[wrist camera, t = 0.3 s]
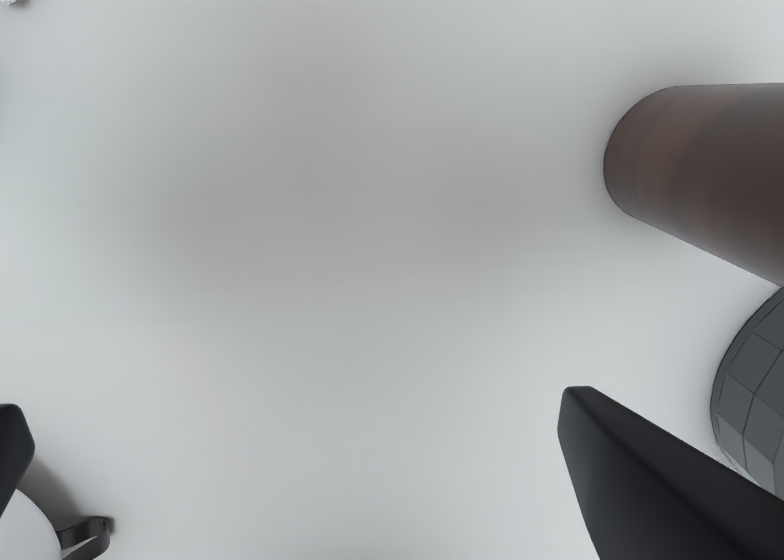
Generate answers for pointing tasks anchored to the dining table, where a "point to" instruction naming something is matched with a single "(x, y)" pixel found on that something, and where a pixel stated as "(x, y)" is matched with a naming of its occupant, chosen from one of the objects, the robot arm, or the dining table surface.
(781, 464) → the pan
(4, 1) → the shaker set
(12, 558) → the coffee press
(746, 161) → the pepper mill
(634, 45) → the dining table surface
